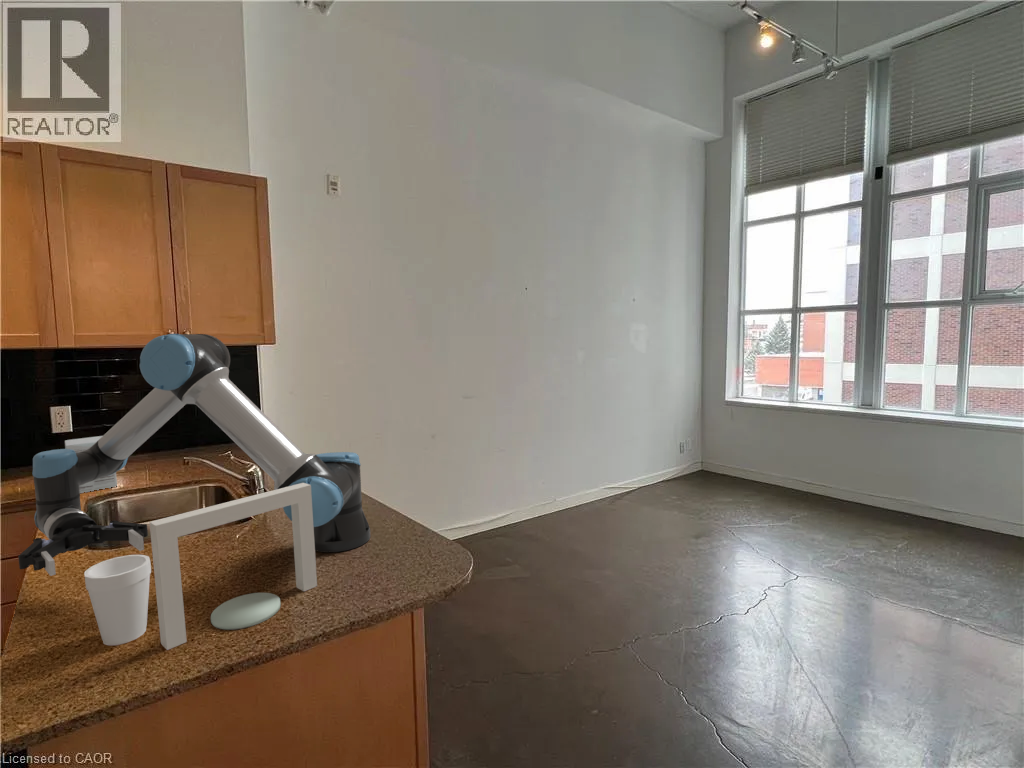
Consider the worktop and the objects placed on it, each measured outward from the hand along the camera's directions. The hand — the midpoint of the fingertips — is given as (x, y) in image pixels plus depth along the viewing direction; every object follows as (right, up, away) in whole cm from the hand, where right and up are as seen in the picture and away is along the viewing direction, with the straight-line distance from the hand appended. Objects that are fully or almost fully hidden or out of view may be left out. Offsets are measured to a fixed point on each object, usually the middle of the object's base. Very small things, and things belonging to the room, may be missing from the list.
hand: (99, 555), depth 99 cm
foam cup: (+9, -13, -5) cm, 16 cm away
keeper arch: (+27, -12, +2) cm, 30 cm away
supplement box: (-73, -5, +90) cm, 116 cm away
